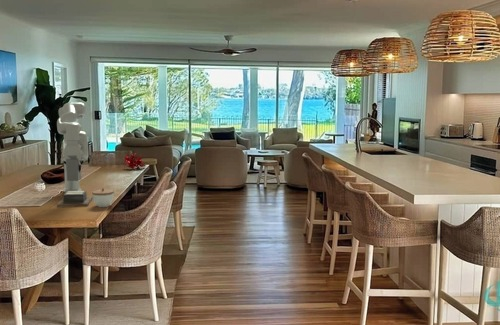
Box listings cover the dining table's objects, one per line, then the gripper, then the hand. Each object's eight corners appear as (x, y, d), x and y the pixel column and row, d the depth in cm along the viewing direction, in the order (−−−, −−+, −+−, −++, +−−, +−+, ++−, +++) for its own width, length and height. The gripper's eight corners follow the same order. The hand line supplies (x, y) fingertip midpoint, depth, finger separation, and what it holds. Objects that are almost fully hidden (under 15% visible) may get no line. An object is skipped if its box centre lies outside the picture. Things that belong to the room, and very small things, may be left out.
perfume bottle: (81, 179, 307) (80, 151, 305) (78, 180, 300) (76, 152, 298) (70, 179, 307) (69, 151, 304) (67, 180, 300) (65, 152, 298)
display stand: (63, 200, 314) (63, 189, 313) (92, 199, 317) (91, 189, 316) (57, 206, 294) (56, 196, 293) (87, 205, 297) (87, 195, 297)
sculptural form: (150, 157, 464) (131, 149, 468) (141, 152, 440) (121, 145, 445) (143, 176, 462) (124, 168, 467) (132, 172, 438) (112, 164, 443)
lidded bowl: (113, 207, 294) (112, 189, 292) (91, 208, 291) (91, 190, 290) (114, 203, 306) (114, 186, 304) (93, 203, 303) (93, 186, 302)
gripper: (88, 142, 306) (89, 170, 308) (59, 142, 303) (60, 170, 305) (86, 143, 298) (87, 172, 301) (57, 143, 295) (58, 172, 298)
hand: (74, 171), depth 303 cm, fingers closed on perfume bottle, 5 cm apart
